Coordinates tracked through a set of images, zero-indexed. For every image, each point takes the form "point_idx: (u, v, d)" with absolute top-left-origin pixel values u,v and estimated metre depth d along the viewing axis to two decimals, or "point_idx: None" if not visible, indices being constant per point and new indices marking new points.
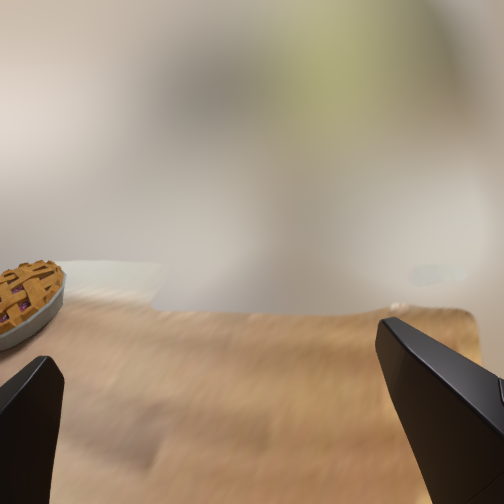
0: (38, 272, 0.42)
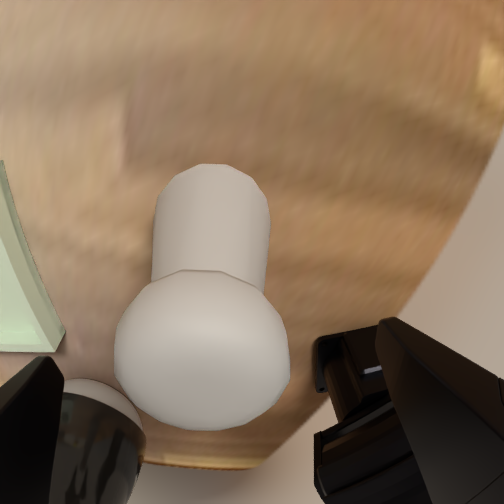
0: None
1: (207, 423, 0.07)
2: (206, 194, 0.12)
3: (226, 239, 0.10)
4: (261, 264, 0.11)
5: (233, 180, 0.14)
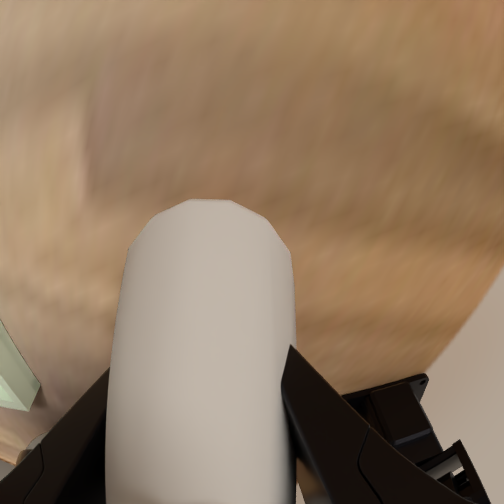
0: None
1: None
2: (196, 269, 0.07)
3: (234, 387, 0.05)
4: None
5: (241, 233, 0.09)
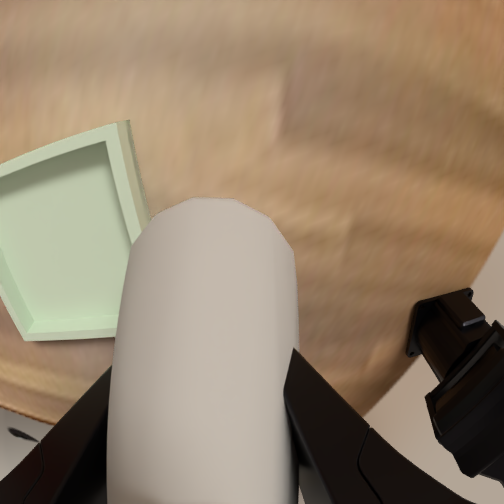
0: None
1: None
2: (200, 267, 0.07)
3: (237, 386, 0.05)
4: None
5: (245, 231, 0.09)
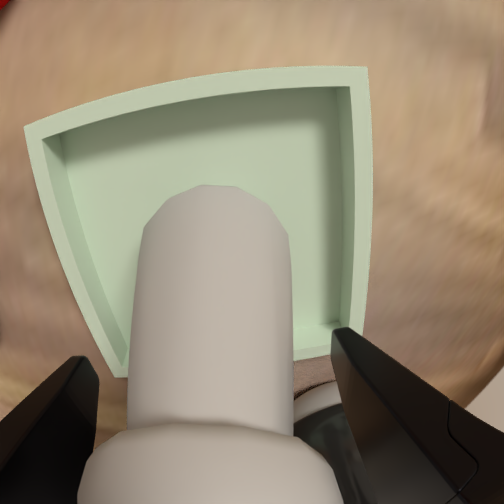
0: None
1: None
2: (209, 238, 0.08)
3: (242, 327, 0.06)
4: (288, 346, 0.08)
5: (246, 213, 0.10)
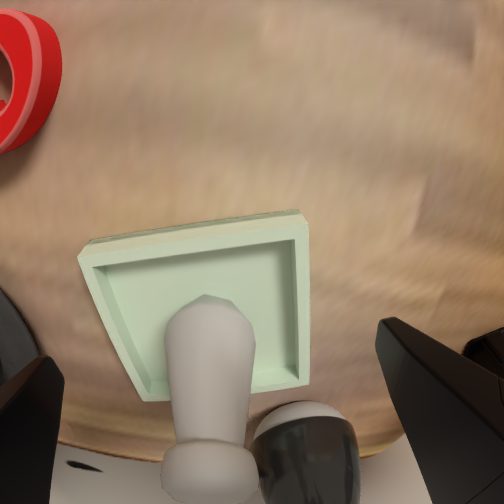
0: None
1: None
2: (206, 350, 0.16)
3: (222, 400, 0.14)
4: (245, 402, 0.15)
5: (226, 327, 0.17)
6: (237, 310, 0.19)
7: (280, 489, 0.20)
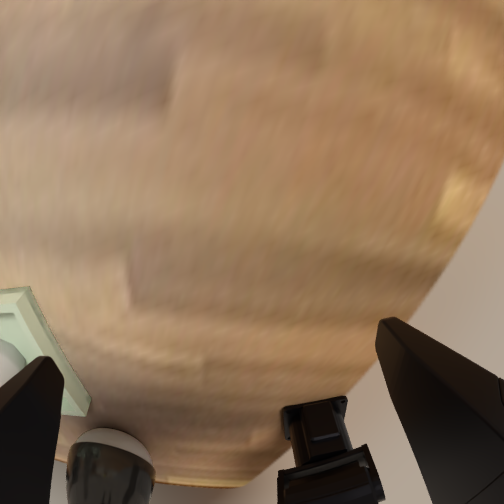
0: None
1: None
2: None
3: None
4: None
5: None
6: (4, 354, 0.20)
7: (68, 490, 0.21)
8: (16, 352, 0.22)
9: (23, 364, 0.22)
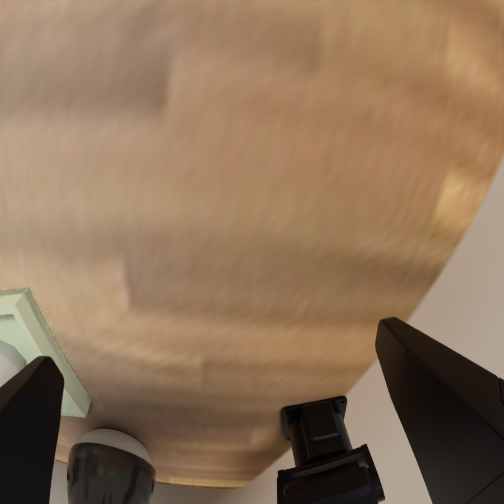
0: None
1: None
2: None
3: None
4: None
5: None
6: (5, 355, 0.20)
7: (68, 491, 0.21)
8: (16, 353, 0.22)
9: (23, 365, 0.22)
